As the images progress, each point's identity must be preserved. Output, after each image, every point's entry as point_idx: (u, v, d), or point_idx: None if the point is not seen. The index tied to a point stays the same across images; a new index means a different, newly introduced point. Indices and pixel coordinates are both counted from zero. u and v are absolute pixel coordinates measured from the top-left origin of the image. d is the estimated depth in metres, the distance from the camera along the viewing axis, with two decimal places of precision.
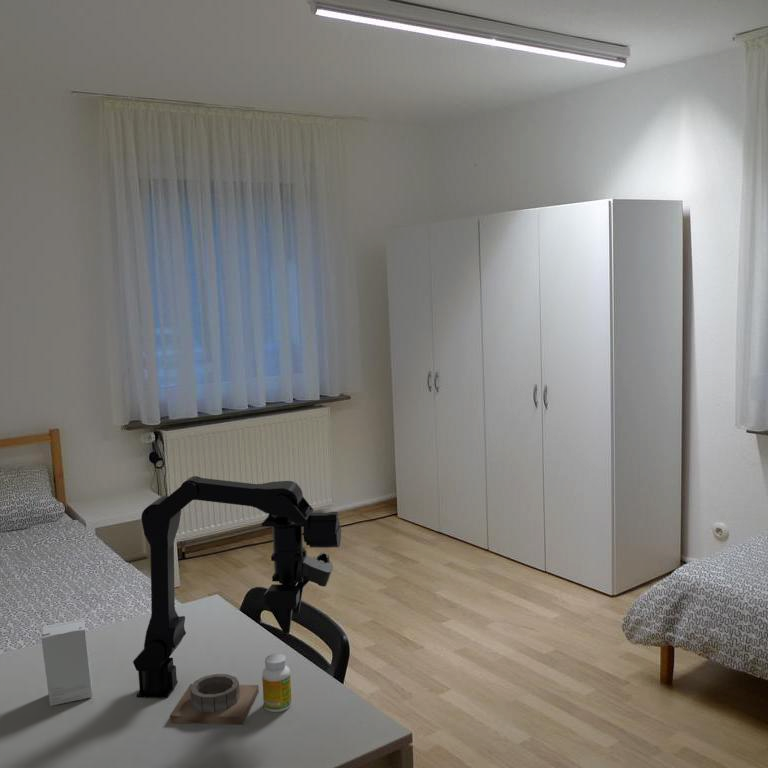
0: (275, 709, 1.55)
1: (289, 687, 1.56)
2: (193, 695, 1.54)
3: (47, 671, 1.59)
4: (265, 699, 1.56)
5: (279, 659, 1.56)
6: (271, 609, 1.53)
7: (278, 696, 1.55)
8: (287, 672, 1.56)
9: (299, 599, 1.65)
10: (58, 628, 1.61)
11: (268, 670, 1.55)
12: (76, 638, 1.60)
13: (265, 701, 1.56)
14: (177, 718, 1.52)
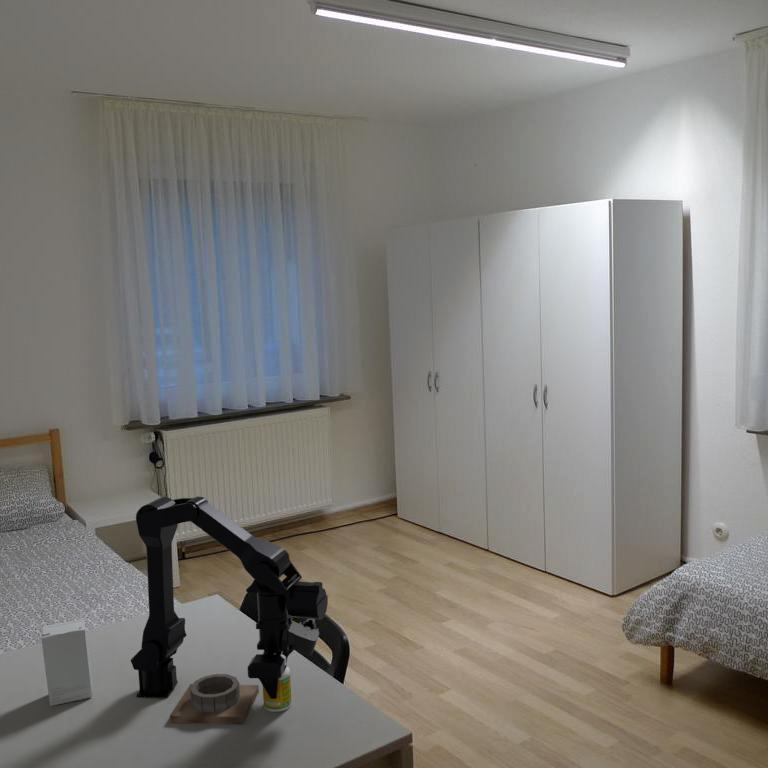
0: (275, 709, 1.55)
1: (289, 687, 1.56)
2: (193, 695, 1.54)
3: (47, 671, 1.59)
4: (265, 699, 1.56)
5: None
6: None
7: (278, 696, 1.55)
8: (287, 672, 1.56)
9: None
10: (58, 628, 1.61)
11: None
12: (76, 638, 1.60)
13: (265, 701, 1.56)
14: (177, 718, 1.52)
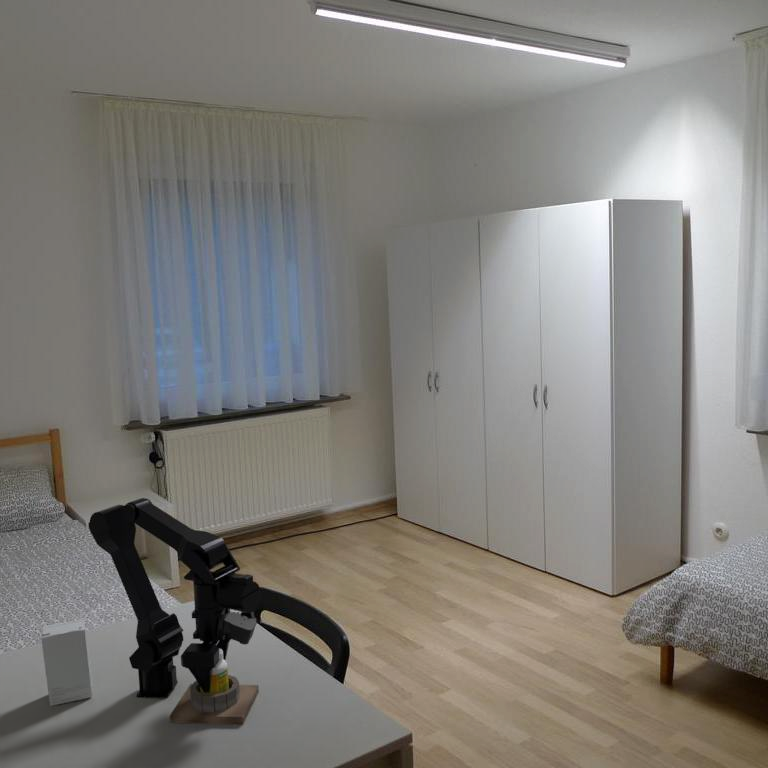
0: None
1: (226, 681, 1.56)
2: (193, 695, 1.54)
3: (47, 671, 1.59)
4: (202, 693, 1.56)
5: None
6: (190, 669, 1.50)
7: (214, 689, 1.55)
8: (224, 666, 1.56)
9: (224, 654, 1.61)
10: (58, 628, 1.61)
11: None
12: (76, 638, 1.60)
13: None
14: (177, 718, 1.52)
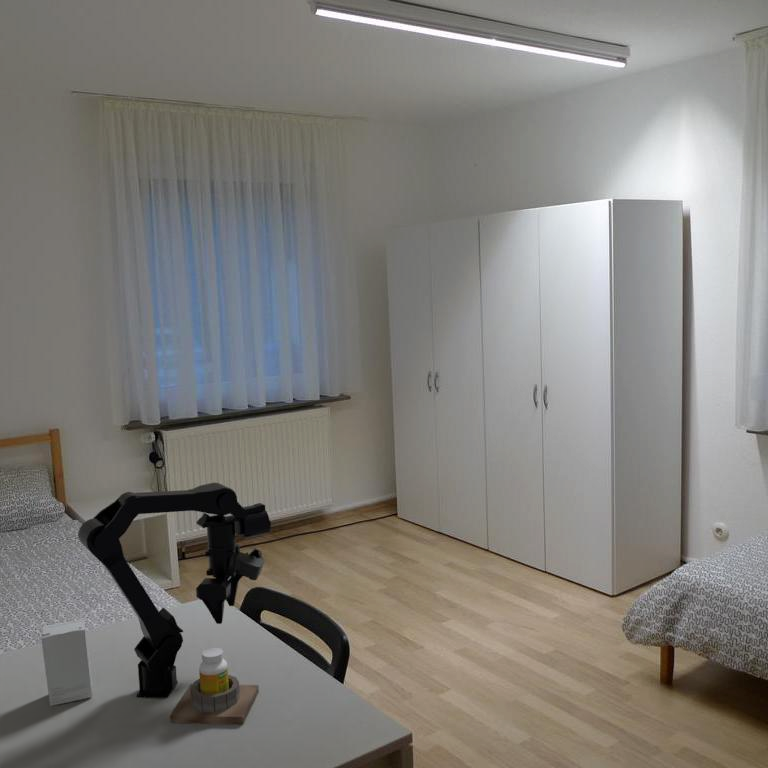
0: None
1: (226, 681, 1.56)
2: (193, 695, 1.54)
3: (47, 671, 1.59)
4: (202, 693, 1.56)
5: (216, 653, 1.56)
6: (204, 601, 1.65)
7: (214, 689, 1.55)
8: (224, 666, 1.56)
9: (234, 592, 1.76)
10: (58, 628, 1.61)
11: (205, 664, 1.55)
12: (76, 638, 1.60)
13: None
14: (177, 718, 1.52)
